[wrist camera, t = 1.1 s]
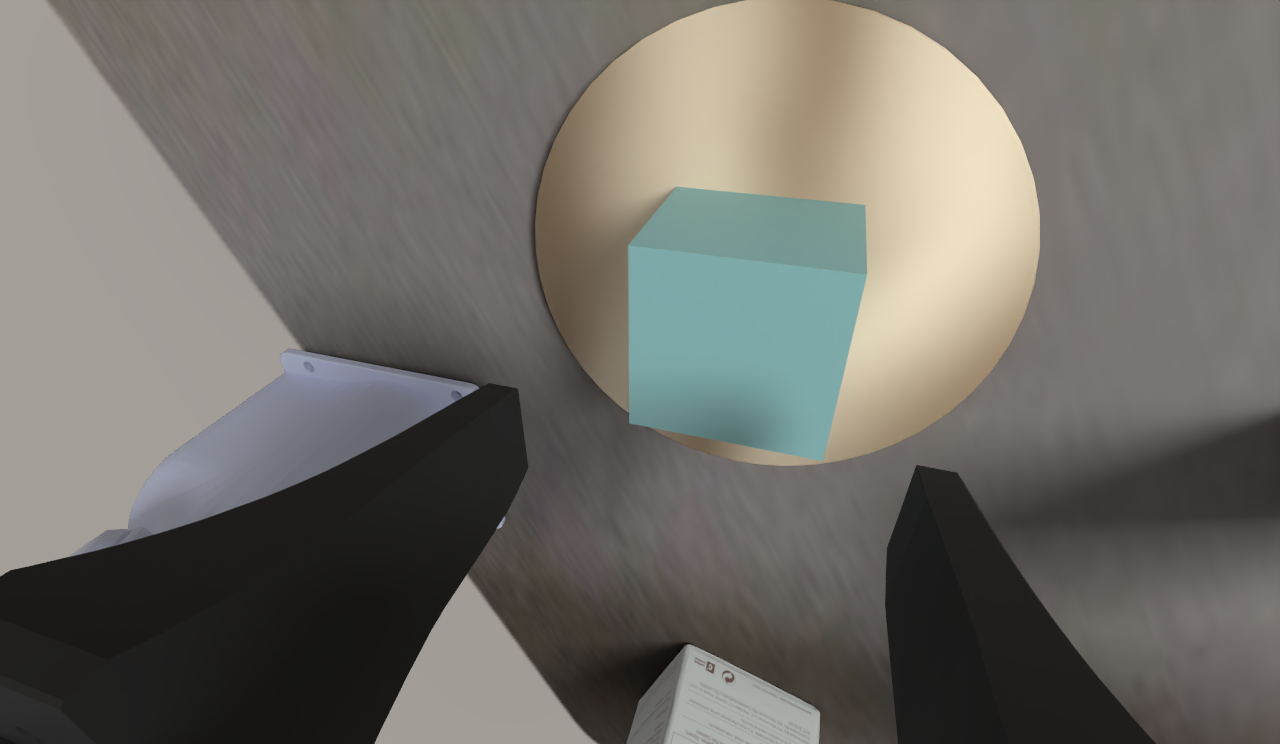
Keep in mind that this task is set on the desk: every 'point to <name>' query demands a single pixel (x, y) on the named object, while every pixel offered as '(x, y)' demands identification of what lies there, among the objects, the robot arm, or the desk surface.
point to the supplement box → (719, 707)
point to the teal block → (744, 317)
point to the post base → (805, 196)
